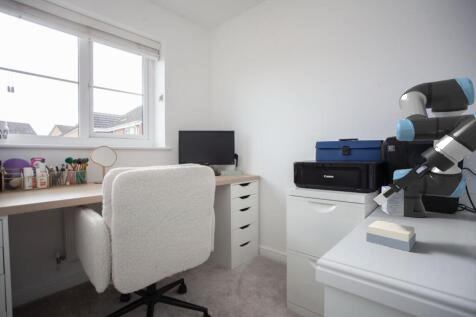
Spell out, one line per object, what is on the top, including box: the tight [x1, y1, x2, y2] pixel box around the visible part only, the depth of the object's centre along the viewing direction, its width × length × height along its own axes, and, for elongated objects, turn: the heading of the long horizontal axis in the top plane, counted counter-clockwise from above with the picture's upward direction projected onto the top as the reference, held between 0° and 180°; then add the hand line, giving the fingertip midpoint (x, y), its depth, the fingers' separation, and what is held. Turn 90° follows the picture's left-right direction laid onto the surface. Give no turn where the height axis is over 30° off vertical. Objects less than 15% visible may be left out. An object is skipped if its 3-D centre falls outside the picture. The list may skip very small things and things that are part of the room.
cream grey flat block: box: [365, 220, 417, 252], centre depth 74 cm, size 12×12×5 cm
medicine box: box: [381, 185, 405, 217], centre depth 74 cm, size 8×4×9 cm, turn 160°
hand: (380, 200), depth 76 cm, fingers closed on medicine box, 9 cm apart
